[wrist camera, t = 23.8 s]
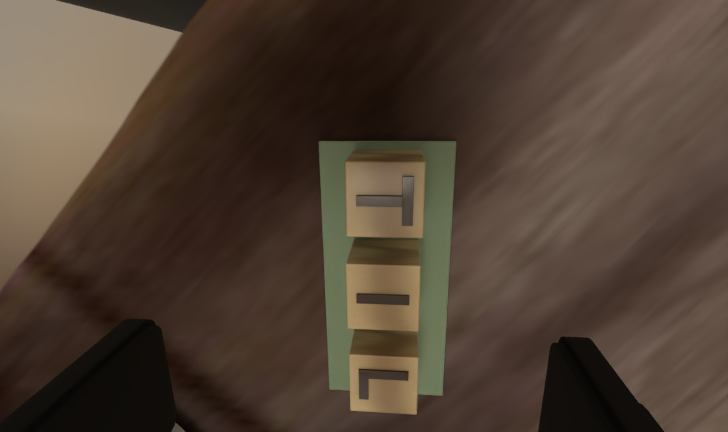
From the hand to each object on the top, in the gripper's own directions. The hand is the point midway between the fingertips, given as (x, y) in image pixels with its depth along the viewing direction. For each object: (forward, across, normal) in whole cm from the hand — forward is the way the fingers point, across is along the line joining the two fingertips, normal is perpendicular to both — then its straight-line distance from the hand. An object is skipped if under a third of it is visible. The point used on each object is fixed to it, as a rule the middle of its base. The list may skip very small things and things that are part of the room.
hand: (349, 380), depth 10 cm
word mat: (+22, 0, +8) cm, 24 cm away
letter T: (+22, 0, 0) cm, 22 cm away
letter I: (+22, 0, +7) cm, 23 cm away
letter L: (+22, 0, +14) cm, 26 cm away
